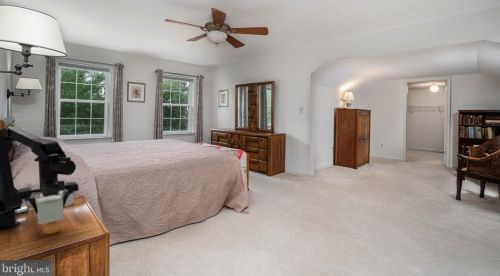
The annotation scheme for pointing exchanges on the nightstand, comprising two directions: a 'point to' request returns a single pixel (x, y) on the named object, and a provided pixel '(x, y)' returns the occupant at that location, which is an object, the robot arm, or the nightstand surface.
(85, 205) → the nightstand surface
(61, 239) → the nightstand surface
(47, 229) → the ball
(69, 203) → the eye dropper bottle
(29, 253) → the nightstand surface
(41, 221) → the white block
